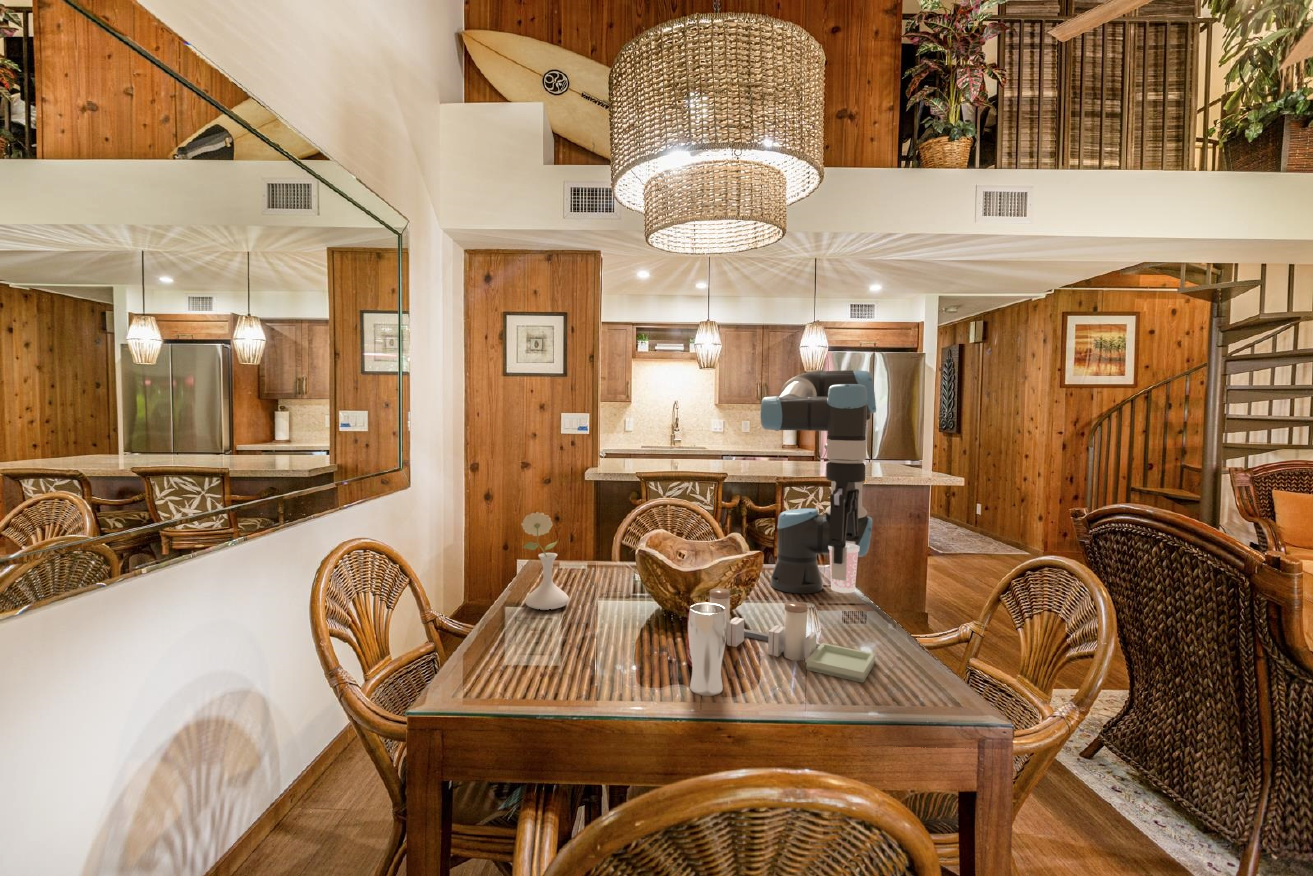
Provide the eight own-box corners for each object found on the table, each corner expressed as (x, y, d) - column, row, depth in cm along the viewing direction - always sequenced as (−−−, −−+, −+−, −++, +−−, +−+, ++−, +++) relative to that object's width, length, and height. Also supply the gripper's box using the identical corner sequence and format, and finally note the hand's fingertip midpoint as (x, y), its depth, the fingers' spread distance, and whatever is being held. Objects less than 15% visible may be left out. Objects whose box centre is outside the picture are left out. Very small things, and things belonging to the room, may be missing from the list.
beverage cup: (844, 595, 117) (845, 524, 116) (820, 588, 122) (822, 519, 121) (865, 591, 120) (867, 522, 119) (841, 584, 125) (843, 517, 125)
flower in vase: (574, 601, 162) (575, 509, 161) (561, 615, 151) (562, 516, 150) (528, 598, 164) (529, 508, 163) (512, 612, 153) (513, 514, 152)
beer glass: (685, 680, 114) (686, 602, 113) (721, 680, 114) (722, 602, 114) (690, 697, 107) (691, 614, 106) (728, 697, 107) (729, 614, 107)
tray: (821, 652, 129) (822, 642, 129) (875, 663, 123) (875, 653, 123) (806, 669, 120) (806, 659, 119) (863, 683, 114) (863, 672, 114)
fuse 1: (714, 634, 139) (715, 587, 138) (732, 638, 136) (733, 590, 136) (705, 640, 135) (706, 592, 134) (724, 644, 132) (724, 595, 132)
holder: (714, 627, 143) (714, 607, 143) (822, 650, 130) (823, 628, 129) (698, 638, 136) (698, 616, 136) (811, 664, 122) (811, 640, 122)
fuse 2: (787, 650, 130) (788, 600, 129) (808, 655, 127) (809, 603, 127) (780, 657, 126) (781, 605, 125) (801, 662, 123) (803, 609, 123)
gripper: (839, 458, 130) (836, 563, 131) (813, 463, 114) (810, 583, 115) (875, 460, 126) (872, 568, 127) (853, 464, 110) (850, 589, 111)
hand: (843, 575), depth 121 cm, fingers closed on beverage cup, 6 cm apart
